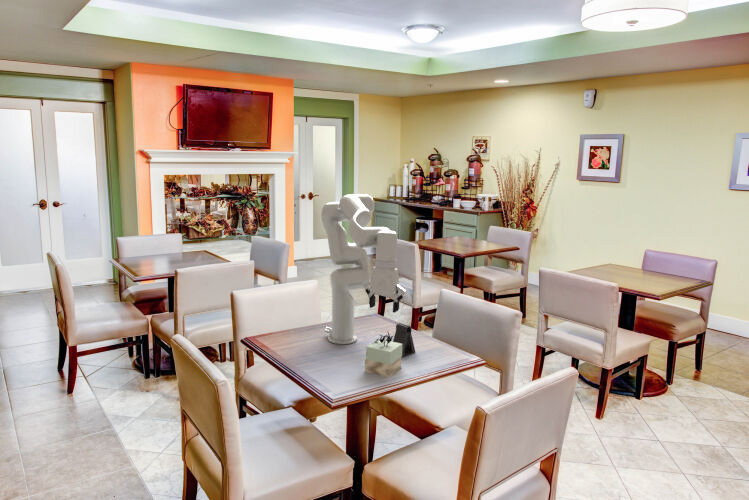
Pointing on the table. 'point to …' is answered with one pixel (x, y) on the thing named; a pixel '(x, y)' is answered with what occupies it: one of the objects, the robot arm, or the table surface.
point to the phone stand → (404, 339)
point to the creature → (384, 339)
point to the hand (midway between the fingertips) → (383, 309)
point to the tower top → (384, 352)
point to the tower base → (382, 367)
